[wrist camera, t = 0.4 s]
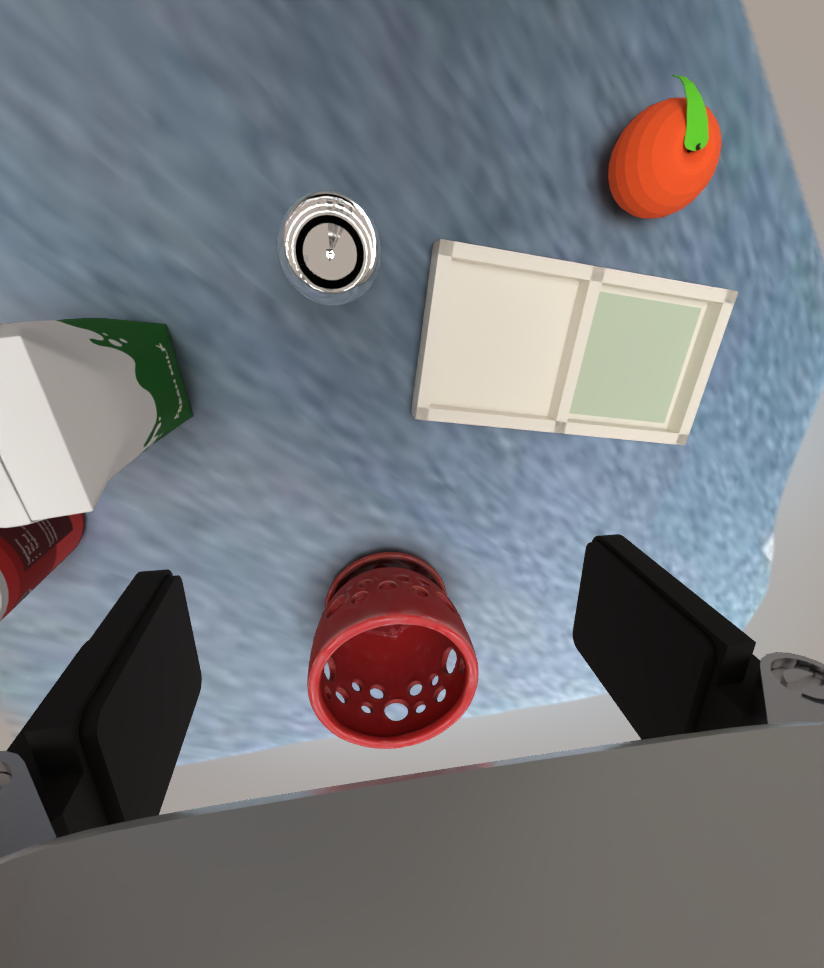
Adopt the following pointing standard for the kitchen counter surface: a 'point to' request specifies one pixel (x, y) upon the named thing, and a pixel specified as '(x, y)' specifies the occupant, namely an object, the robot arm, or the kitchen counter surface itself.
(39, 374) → the milk carton
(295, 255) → the wineglass
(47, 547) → the canned food
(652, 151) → the clementine
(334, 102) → the kitchen counter surface
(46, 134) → the kitchen counter surface
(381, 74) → the kitchen counter surface
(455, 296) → the two-compartment tray
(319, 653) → the plant pot
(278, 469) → the kitchen counter surface
